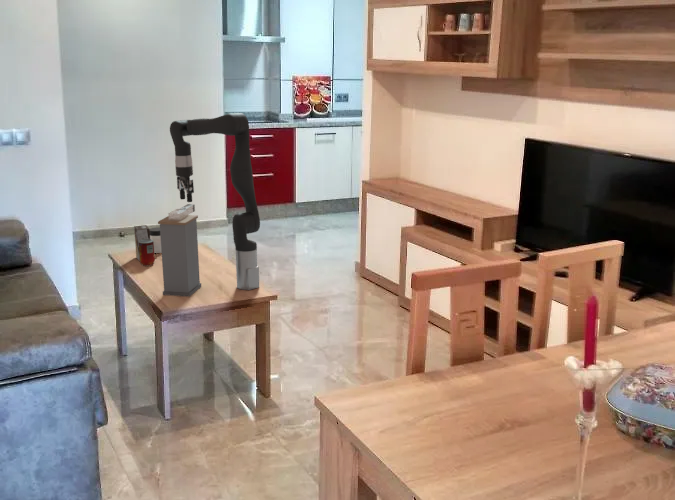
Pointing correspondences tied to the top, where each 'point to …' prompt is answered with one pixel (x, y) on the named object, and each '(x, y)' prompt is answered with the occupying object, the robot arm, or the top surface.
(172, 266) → the stand
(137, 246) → the coffee box
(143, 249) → the soda can
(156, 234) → the jar
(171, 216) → the grey rectangular bar
